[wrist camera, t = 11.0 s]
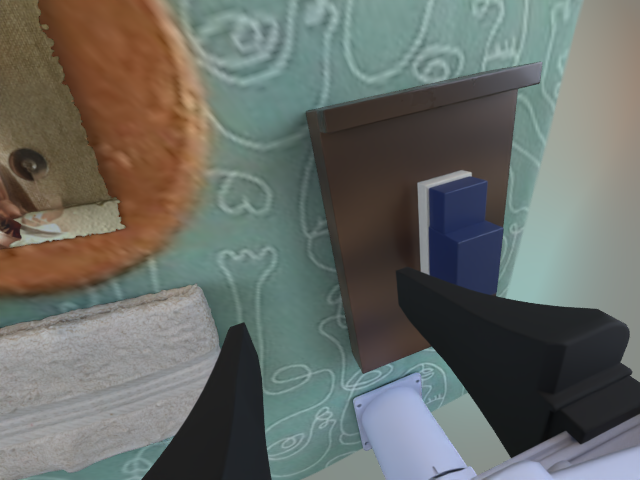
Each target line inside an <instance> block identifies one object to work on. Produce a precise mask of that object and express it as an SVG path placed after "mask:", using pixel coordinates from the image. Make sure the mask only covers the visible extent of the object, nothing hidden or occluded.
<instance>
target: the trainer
mask: <svg viewBox="0 0 640 480" xmlns="http://www.w3.org/2000/svg"><path fill="white" fill-rule="evenodd" d="M487 185H488V181H487V180H483V179H479V178H475V177H472V173H471V172H468V171H464V170H460V171H457V172H453V173H450V174H446V175H443V176H439V177H436V178H432V179H429V180H425V181H422V182H418V183H417V186H418V212H419V238H420V264H421V272H423V273H426V274H428V275H431V276H433V277H436V278H439V279H441V280H444V281H447V282H449V283H452V284H455V285H458V286H461V287H464V288H467V289H470V290H474V291H477V292H481V293H485V294H489V295H492V294H495V293H497V285H498V276H499V267H500V257H501V248H502V239H503V227H500V226H498V225H495V224H493V223H491V222H488V221H486V220H485V212H486V199H487Z"/></svg>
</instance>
